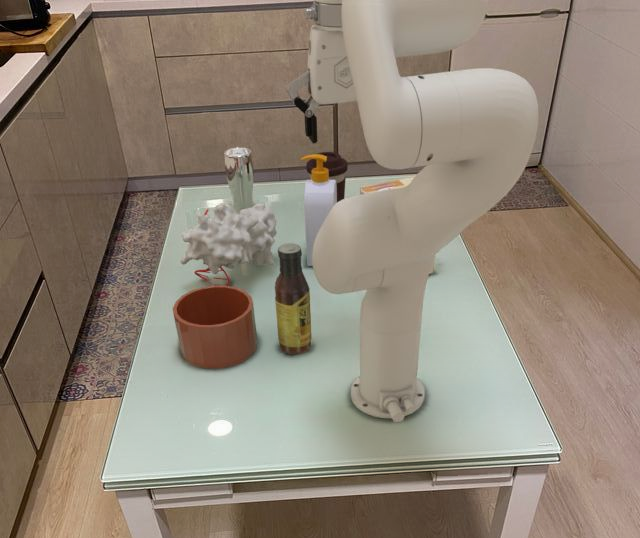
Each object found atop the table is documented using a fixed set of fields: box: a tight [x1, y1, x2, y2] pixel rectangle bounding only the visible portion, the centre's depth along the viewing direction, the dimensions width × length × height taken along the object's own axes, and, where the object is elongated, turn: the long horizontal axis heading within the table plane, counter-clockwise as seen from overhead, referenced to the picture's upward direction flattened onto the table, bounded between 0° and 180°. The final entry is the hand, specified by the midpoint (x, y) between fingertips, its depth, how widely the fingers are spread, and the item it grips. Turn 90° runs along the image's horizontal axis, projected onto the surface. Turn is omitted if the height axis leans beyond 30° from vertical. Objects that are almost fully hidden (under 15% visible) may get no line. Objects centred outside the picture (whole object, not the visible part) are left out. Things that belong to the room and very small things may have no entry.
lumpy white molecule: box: [180, 202, 278, 286], centre depth 142 cm, size 20×18×25 cm
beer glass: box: [223, 146, 256, 214], centre depth 169 cm, size 7×7×15 cm
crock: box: [172, 284, 258, 370], centre depth 125 cm, size 14×14×9 cm
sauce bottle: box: [274, 242, 312, 355], centre depth 120 cm, size 7×6×20 cm
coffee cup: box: [305, 151, 349, 202], centre depth 165 cm, size 10×10×15 cm
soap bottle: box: [300, 153, 337, 267], centre depth 145 cm, size 9×7×23 cm
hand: (341, 137), depth 108 cm, fingers open, 9 cm apart
